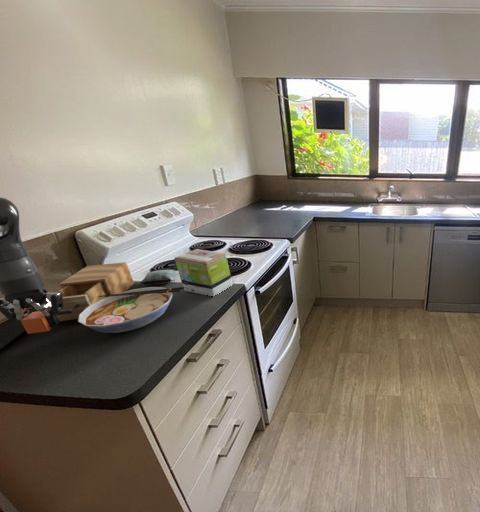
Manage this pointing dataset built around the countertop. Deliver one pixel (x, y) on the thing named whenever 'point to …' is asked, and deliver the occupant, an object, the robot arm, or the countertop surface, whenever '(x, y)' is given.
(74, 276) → the cabinet
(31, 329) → the block
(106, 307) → the ramen bowl
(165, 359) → the countertop surface
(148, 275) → the packaged food
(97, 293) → the drawer
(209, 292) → the tea box
